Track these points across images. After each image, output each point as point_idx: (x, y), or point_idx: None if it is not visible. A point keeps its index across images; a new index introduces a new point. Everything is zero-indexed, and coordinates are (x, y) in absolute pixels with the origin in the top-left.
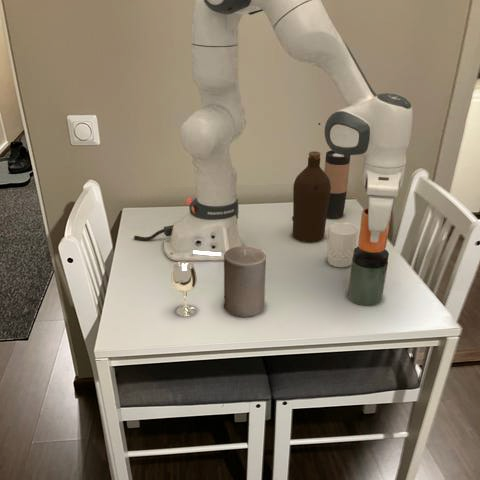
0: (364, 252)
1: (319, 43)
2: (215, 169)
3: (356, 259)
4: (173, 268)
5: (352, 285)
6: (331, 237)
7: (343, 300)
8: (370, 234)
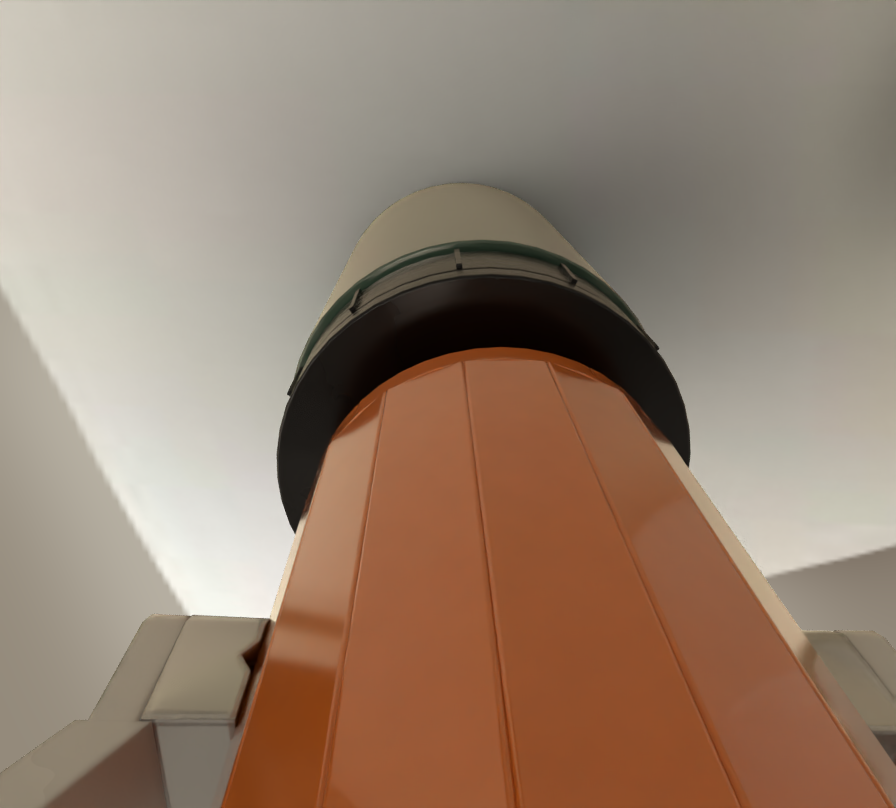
0: None
1: None
2: None
3: (363, 298)
4: None
5: (381, 227)
6: None
7: (384, 152)
8: (253, 670)
